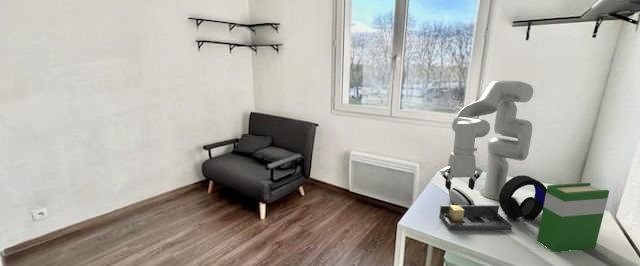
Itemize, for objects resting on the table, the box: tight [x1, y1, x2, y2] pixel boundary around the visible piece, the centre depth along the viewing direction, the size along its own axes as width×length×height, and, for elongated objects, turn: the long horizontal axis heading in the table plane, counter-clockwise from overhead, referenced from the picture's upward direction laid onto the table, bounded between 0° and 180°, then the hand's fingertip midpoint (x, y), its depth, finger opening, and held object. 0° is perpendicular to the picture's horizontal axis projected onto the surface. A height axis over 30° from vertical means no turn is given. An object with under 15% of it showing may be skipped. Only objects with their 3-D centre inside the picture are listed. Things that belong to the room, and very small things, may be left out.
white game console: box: [447, 187, 475, 205], centre depth 139 cm, size 17×5×10 cm, turn 7°
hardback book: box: [536, 182, 610, 254], centre depth 108 cm, size 18×7×24 cm, turn 97°
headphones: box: [498, 175, 547, 222], centre depth 127 cm, size 19×7×20 cm, turn 94°
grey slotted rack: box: [438, 204, 513, 232], centre depth 125 cm, size 26×11×6 cm, turn 89°
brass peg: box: [448, 204, 464, 223], centre depth 124 cm, size 4×4×8 cm
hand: (459, 188), depth 122 cm, fingers open, 9 cm apart
